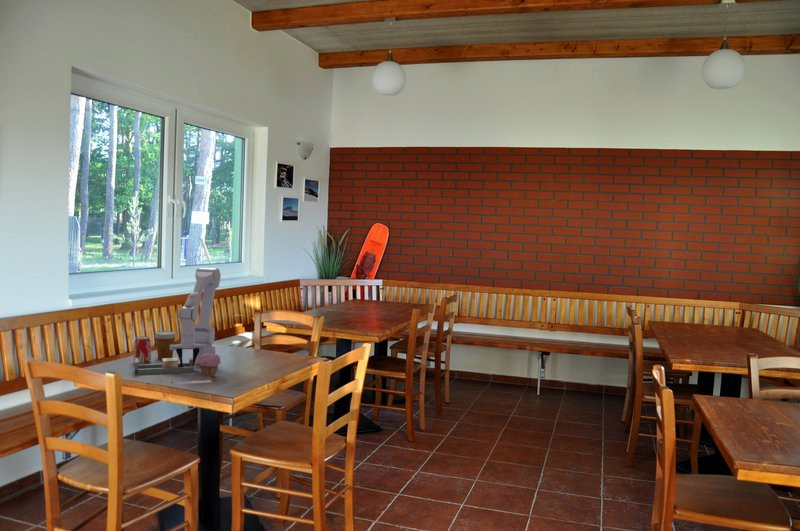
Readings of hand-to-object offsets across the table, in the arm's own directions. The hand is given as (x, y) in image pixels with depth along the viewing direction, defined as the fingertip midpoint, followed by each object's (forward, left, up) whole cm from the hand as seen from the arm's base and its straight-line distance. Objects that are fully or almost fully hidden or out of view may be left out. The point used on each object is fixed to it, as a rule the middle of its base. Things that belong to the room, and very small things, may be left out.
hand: (187, 365), depth 284 cm
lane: (+9, 0, -3) cm, 10 cm away
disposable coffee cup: (+8, -31, -3) cm, 32 cm away
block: (+4, 0, -1) cm, 4 cm away
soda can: (+18, -20, -3) cm, 27 cm away
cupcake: (-8, +11, -3) cm, 14 cm away
